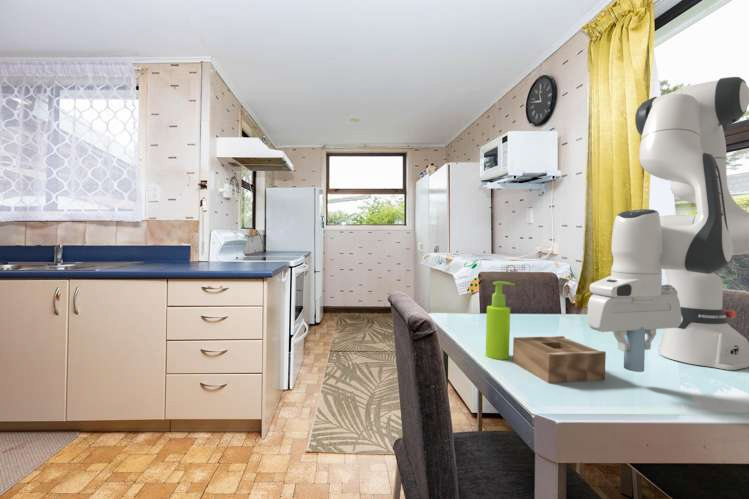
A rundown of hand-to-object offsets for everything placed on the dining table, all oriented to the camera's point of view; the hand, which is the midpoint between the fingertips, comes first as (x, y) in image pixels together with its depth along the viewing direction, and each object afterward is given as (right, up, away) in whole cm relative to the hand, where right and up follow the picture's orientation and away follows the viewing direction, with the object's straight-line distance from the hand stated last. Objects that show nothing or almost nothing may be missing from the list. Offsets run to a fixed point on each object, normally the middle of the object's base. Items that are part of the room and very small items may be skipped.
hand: (634, 349), depth 78 cm
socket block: (-13, -7, +9) cm, 17 cm away
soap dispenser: (-23, -7, +19) cm, 30 cm away
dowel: (0, -4, 0) cm, 4 cm away
